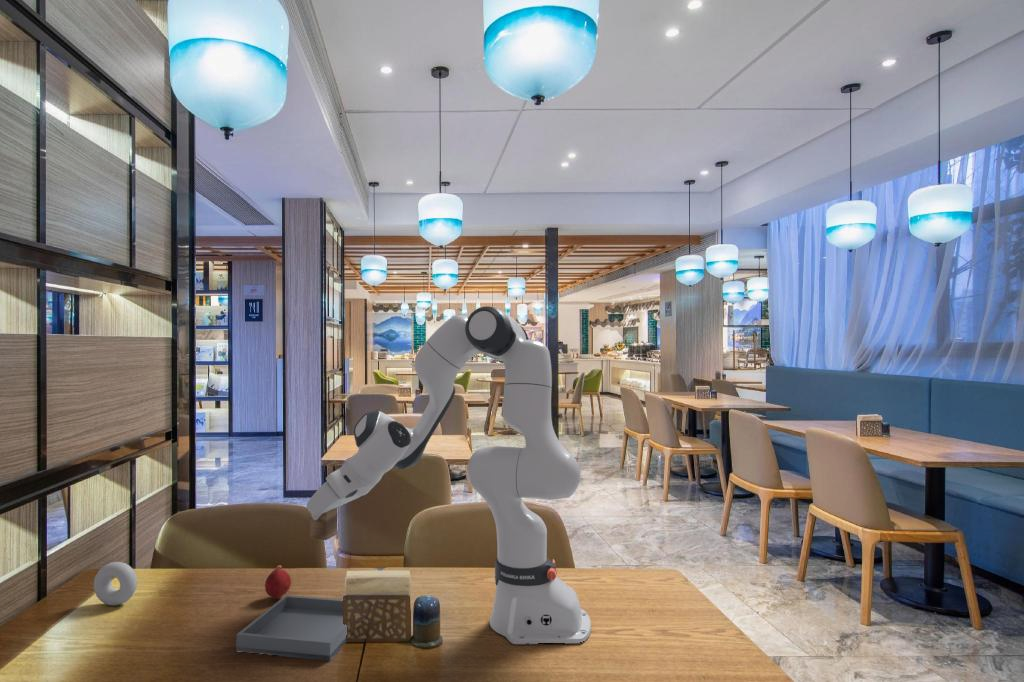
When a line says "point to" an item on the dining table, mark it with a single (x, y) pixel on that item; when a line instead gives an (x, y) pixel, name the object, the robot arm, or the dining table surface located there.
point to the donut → (105, 588)
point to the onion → (277, 583)
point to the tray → (297, 629)
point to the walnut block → (324, 525)
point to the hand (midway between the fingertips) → (321, 514)
